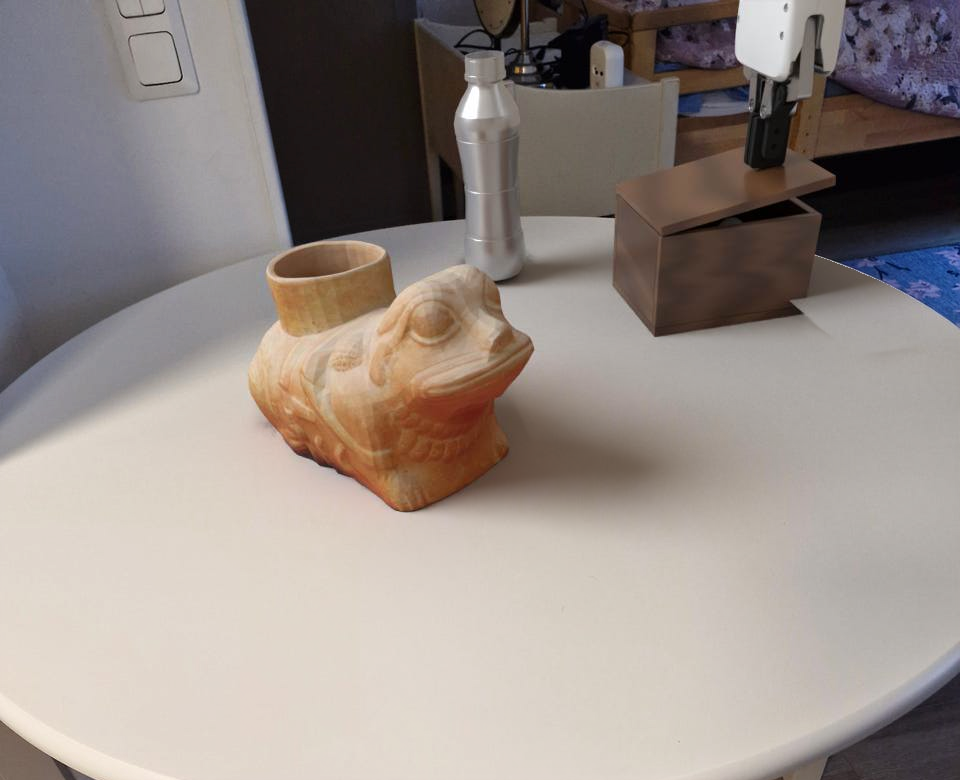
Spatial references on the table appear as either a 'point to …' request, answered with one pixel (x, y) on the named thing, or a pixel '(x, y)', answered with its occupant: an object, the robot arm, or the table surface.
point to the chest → (715, 267)
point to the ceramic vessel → (386, 370)
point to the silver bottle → (490, 168)
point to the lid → (718, 189)
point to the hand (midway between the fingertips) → (763, 164)
